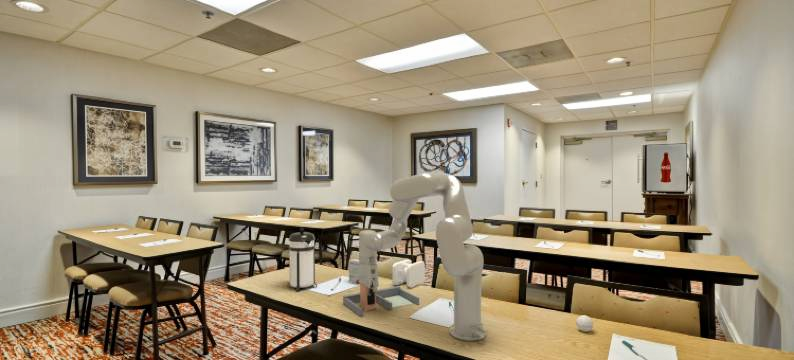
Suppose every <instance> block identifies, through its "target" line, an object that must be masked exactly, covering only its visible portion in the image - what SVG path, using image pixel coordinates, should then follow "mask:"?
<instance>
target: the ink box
mask: <svg viewBox="0 0 794 360" xmlns="http://www.w3.org/2000/svg"><path fill="white" fill-rule="evenodd" d="M359 267H360V264H359V259H356V258H353V259H349V260H348V283H349V282H352V283H351V284H354V283H357V284H356V285H359V284H360V282H359Z"/></svg>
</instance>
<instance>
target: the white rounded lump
mask: <svg viewBox="0 0 794 360" xmlns="http://www.w3.org/2000/svg"><path fill="white" fill-rule="evenodd" d="M575 324H576V326H577V328H578V330H580V331H581V332H590V331H592V329H593V328H594V321H593V320H592V318H591V317H590V316H588V315H585V314H583V315H582V314H581V315H580V316H578V317H577V318H576V321H575Z"/></svg>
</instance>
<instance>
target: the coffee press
mask: <svg viewBox="0 0 794 360" xmlns="http://www.w3.org/2000/svg"><path fill="white" fill-rule="evenodd" d="M315 240H316V236H314V234H313V233H311V232H308V231H305V229H304V227H300V228H299V232H294V233H291V234H290V235H289V238H288V243H289V245H288V251H289V252H288V253H289V256H288V257H289V259H288V260H289V261H288V262H289V282H288V284H287V288H288V287H290V288H291V287H293V288H296V289H295V292H297V293H299V292H300V290H301V288H308V287H312V288H314V287H316V288H317V287H318V284H317V283H316V275H315V273H316V272H315V271H316V269H315V267H316V266H315V265H316V264H315V262H316V261H315V259H316V258H315V257H316V254H315V249H316V246H315ZM289 285H290V286H289Z"/></svg>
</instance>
